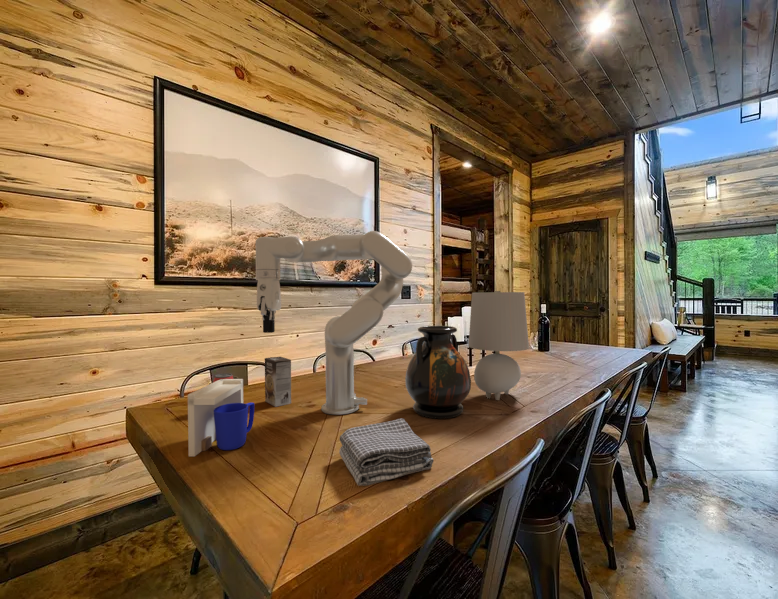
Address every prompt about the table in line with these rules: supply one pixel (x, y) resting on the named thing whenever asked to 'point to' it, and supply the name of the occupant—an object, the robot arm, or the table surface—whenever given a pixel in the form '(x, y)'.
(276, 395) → the coffee box
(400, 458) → the towel
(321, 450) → the table surface
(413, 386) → the amphora vase
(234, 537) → the table surface
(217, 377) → the beer can
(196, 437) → the shelf
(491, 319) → the table lamp
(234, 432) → the mug
